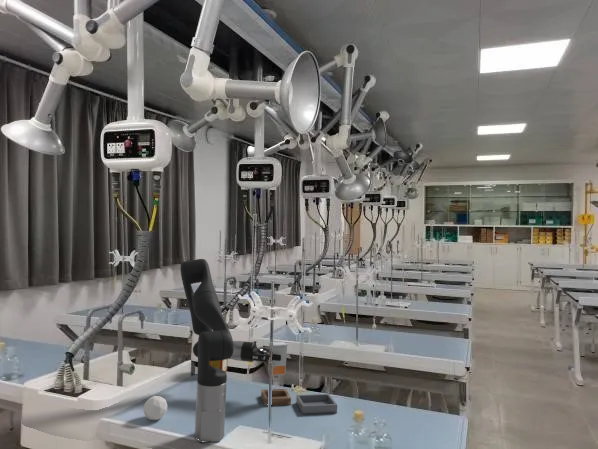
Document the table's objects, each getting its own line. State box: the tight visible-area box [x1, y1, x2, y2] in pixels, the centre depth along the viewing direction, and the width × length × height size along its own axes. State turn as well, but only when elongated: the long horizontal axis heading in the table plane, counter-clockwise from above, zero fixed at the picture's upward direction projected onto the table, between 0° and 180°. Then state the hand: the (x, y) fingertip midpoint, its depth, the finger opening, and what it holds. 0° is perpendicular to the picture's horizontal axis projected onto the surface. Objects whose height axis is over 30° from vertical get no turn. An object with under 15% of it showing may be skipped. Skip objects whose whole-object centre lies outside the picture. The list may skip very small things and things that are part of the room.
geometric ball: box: [142, 395, 168, 421], centre depth 153 cm, size 8×8×8 cm
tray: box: [295, 393, 338, 416], centre depth 169 cm, size 11×13×3 cm
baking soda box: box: [209, 359, 229, 373], centre depth 204 cm, size 10×6×16 cm
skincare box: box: [267, 341, 288, 377], centre depth 175 cm, size 6×4×12 cm
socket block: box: [260, 388, 292, 407], centre depth 175 cm, size 10×10×2 cm
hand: (283, 355), depth 174 cm, fingers closed on skincare box, 6 cm apart
